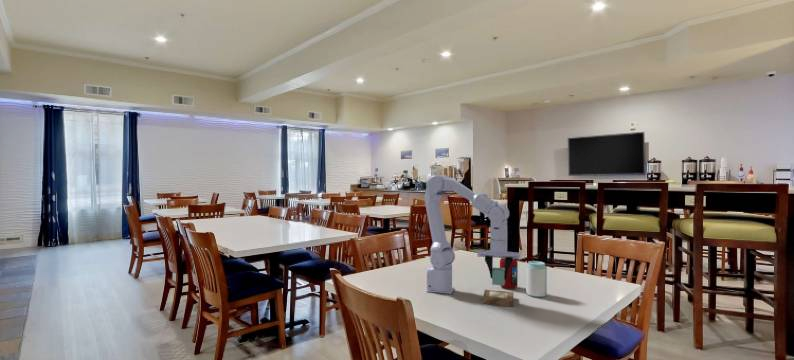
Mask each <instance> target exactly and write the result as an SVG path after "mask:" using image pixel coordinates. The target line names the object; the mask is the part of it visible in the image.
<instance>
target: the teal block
mask: <svg viewBox="0 0 794 360" xmlns="http://www.w3.org/2000/svg"><path fill="white" fill-rule="evenodd" d="M504 276H505V268H500V267H493V270H492V278H491V279H492V280H491V282H492V283H491V285H493V286H494V285H495V286H500V285H503V286H504V284H505V279H504Z"/></svg>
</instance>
